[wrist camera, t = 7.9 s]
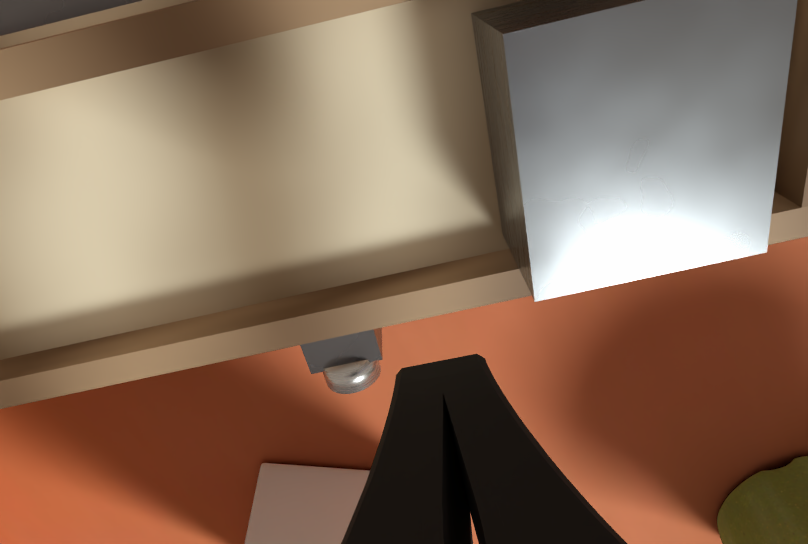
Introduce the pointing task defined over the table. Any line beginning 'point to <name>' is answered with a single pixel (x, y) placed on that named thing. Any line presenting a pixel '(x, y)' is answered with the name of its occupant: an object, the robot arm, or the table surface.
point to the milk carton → (303, 504)
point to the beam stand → (336, 357)
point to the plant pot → (768, 507)
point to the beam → (256, 182)
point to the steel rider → (632, 133)
